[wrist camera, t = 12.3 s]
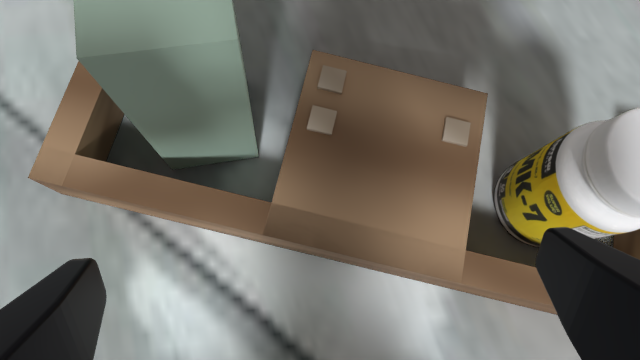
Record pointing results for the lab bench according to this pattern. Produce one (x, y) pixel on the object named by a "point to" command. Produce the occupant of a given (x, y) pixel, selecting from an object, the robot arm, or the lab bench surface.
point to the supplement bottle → (576, 183)
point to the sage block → (172, 74)
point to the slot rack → (326, 178)
